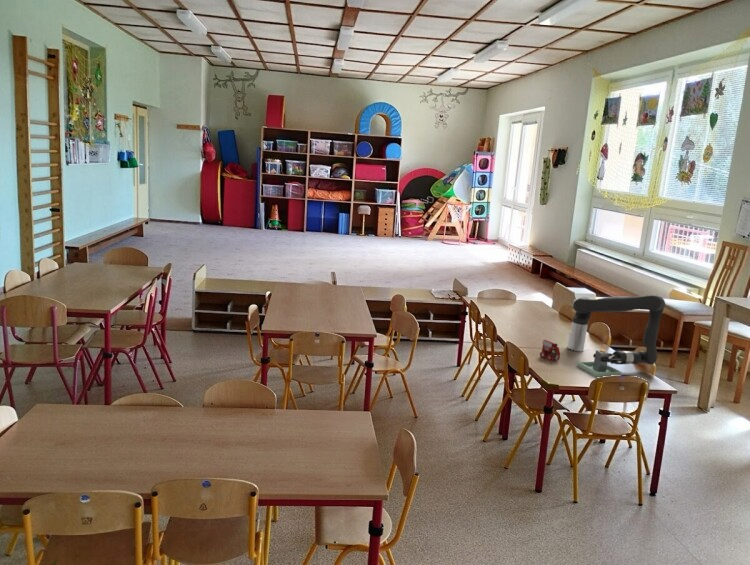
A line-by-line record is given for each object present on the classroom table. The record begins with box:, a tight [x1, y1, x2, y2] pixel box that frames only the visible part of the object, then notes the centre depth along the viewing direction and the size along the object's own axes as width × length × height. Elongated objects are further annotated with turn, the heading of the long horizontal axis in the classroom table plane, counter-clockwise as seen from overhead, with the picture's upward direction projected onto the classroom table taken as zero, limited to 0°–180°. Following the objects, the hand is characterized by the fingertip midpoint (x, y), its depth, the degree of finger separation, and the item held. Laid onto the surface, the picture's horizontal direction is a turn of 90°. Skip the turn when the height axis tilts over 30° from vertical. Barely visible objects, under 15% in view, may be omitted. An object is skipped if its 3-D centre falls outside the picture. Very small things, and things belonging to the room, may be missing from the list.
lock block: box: [593, 349, 609, 372], centre depth 338 cm, size 5×5×12 cm
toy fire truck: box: [539, 339, 561, 362], centre depth 353 cm, size 7×12×10 cm, turn 35°
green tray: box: [576, 361, 623, 379], centre depth 339 cm, size 18×16×3 cm
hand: (597, 357), depth 337 cm, fingers open, 6 cm apart
